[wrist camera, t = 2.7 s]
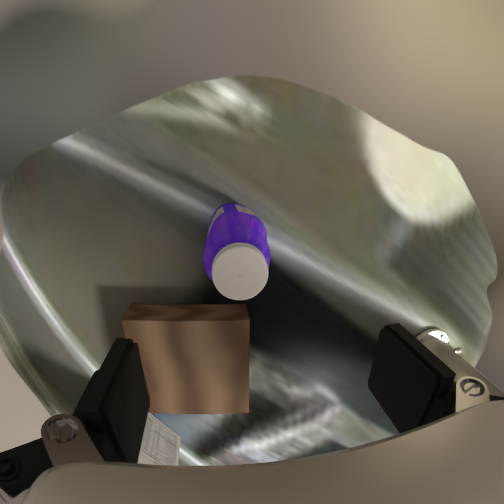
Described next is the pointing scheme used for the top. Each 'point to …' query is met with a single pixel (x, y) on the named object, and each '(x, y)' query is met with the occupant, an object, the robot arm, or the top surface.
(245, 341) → the plinth
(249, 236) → the bottle
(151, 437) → the supplement box
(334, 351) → the top surface
